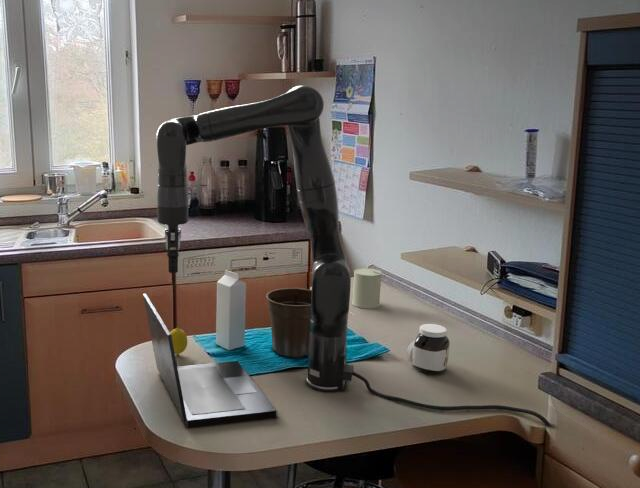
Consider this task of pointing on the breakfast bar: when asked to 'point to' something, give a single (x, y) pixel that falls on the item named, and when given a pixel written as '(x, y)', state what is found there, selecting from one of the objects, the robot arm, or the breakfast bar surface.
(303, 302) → the plant pot
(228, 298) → the milk
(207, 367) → the laptop
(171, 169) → the robot arm
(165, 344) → the laptop screen
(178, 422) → the breakfast bar surface
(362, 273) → the can
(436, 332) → the spread jar
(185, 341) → the lemon
